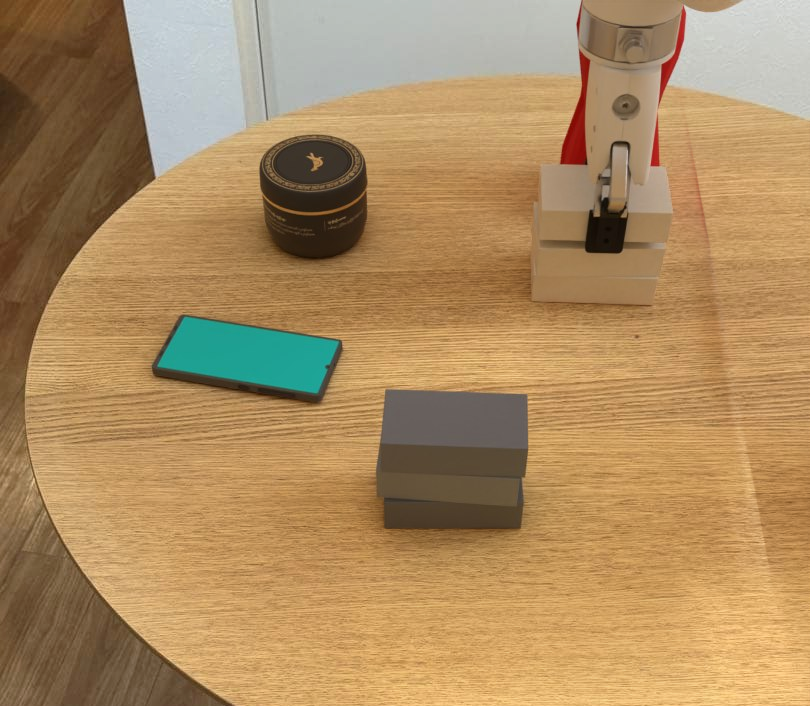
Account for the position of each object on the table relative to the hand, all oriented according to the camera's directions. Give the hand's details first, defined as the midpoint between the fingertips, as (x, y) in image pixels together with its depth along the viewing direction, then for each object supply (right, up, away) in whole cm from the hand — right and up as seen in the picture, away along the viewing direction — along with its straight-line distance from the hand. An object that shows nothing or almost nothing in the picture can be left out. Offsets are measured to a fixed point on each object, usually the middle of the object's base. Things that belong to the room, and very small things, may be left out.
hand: (600, 223), depth 102 cm
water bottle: (+3, +7, +14) cm, 16 cm away
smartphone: (-31, -13, -2) cm, 33 cm away
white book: (0, 0, 0) cm, 1 cm away
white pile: (0, -4, +5) cm, 6 cm away
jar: (-26, +2, +10) cm, 28 cm away
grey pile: (-14, -25, -12) cm, 31 cm away
